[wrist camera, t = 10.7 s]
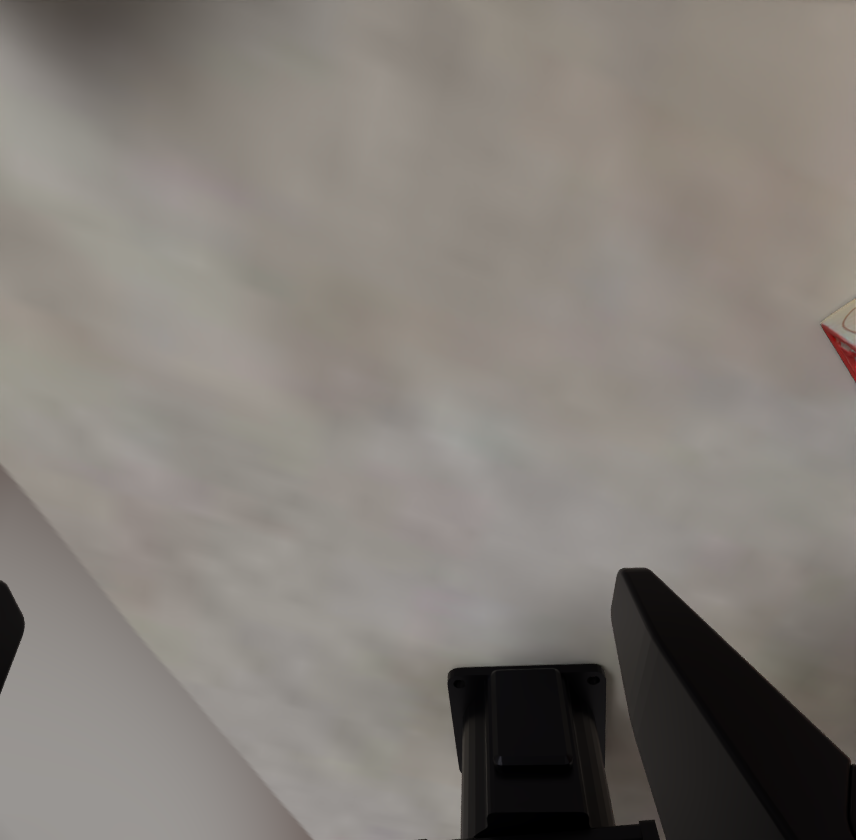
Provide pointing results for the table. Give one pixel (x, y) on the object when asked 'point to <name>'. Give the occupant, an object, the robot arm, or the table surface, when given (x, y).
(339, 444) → the table surface
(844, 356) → the stack of blocks
